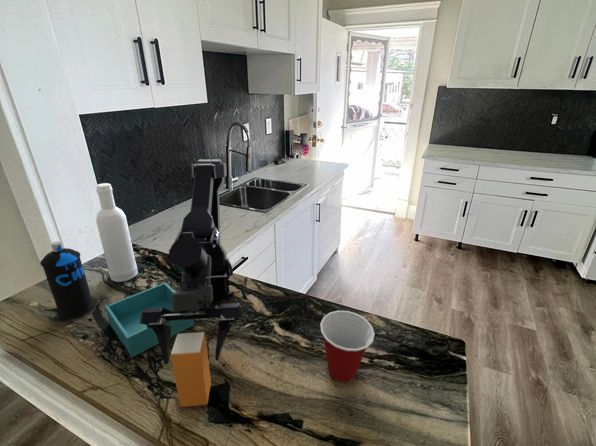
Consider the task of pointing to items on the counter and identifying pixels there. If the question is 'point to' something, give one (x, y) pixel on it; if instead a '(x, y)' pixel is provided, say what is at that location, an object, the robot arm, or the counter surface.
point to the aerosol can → (67, 282)
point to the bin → (128, 318)
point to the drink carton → (191, 369)
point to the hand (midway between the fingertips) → (191, 362)
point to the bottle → (115, 237)
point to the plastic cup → (345, 342)
